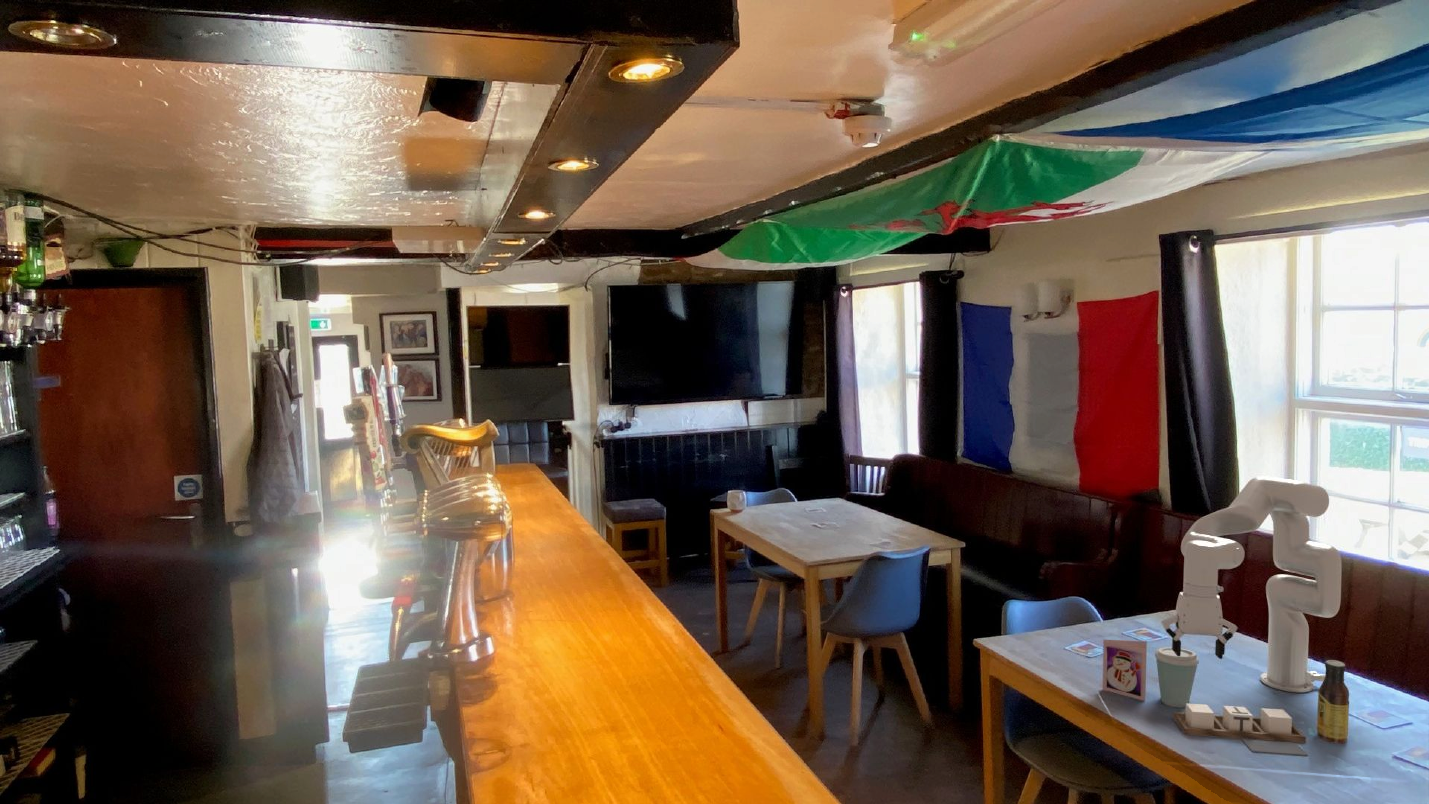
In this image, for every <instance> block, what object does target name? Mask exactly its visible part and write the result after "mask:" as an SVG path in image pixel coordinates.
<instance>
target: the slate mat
mask: <svg viewBox="0 0 1429 804" xmlns="http://www.w3.org/2000/svg"><path fill="white" fill-rule="evenodd" d="M1241 741H1242V742H1243V743H1244V744H1245V746H1246V747H1247V748H1248V749H1249V750H1250V751H1251V753H1255V754H1256V753H1259V754H1260V753H1261V754H1271V755H1286V756H1299V757H1300V756H1301V757H1308V756H1309V754H1308V753H1307V752H1305V750H1304V749H1303V748H1302V747H1301V746H1300V745H1299V744H1298V742H1285V741H1271V740H1257V739H1243V738H1241Z"/></svg>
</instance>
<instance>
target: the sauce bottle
mask: <svg viewBox="0 0 1429 804" xmlns="http://www.w3.org/2000/svg"><path fill="white" fill-rule="evenodd" d="M1324 667H1325V674H1324V675H1325V679H1324V681H1322V683H1321V685H1320V687H1319V688H1318V696H1317V715H1316V716H1317V718H1316V730H1317V731H1316V732H1317V734H1316V735H1317V736H1318V737H1319V738H1320V739H1321V740H1324V741H1327V742H1329V743H1334V744H1345V743H1346V742H1347V741H1348V733H1349V732H1348V731H1349V715H1350V714H1349V713H1350V701H1349V699H1350V698H1349V697H1350V690H1349V688H1348V687H1347V685H1346V684H1345V682H1344V681H1345V672H1346V664H1345V662H1342V661H1339V660H1335V659H1328V660H1326V661H1325V662H1324Z"/></svg>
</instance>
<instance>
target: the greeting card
mask: <svg viewBox="0 0 1429 804" xmlns="http://www.w3.org/2000/svg"><path fill="white" fill-rule="evenodd" d="M1147 642H1148V641H1146V640H1144V641H1143V640H1126V639H1125V640H1123V639H1122V640H1121V639H1103V648H1102V651H1103V652H1102V653H1103V654H1102V691H1105V692H1106V691H1107V692H1111V693H1115V694H1118V695H1122V696H1125V697H1129V698H1133V699H1137V700H1140V701H1144V702H1146V690H1147V688H1146V687H1147V686H1146V685H1147V683H1146V681H1147V651H1148V649H1147V647H1148V646H1147V644H1148V643H1147Z"/></svg>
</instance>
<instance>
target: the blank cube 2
mask: <svg viewBox="0 0 1429 804" xmlns="http://www.w3.org/2000/svg"><path fill="white" fill-rule="evenodd" d="M1260 718H1261V726H1260V727H1261V728H1262V729H1263V730H1264V731H1265V733H1278V734H1291V728H1292V724H1293V718H1292V717H1291V716H1290V715H1289V714H1288V712H1286V711H1285V709H1283V708H1282V709H1279V708H1278V709H1277V708H1263V707H1262V708H1260Z"/></svg>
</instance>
